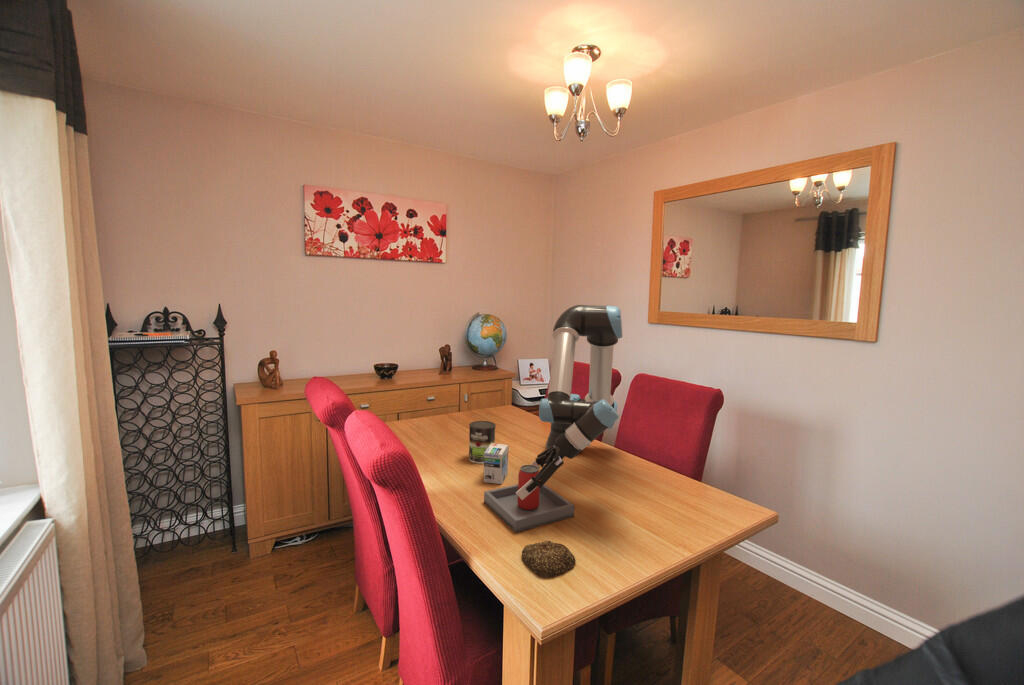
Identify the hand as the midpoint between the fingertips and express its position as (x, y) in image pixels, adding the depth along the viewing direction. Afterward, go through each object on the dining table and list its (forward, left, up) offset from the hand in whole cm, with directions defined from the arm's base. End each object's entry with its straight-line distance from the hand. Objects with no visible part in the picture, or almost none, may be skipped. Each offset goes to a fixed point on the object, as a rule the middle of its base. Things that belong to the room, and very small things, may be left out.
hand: (520, 486), depth 136 cm
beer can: (-2, +1, -6) cm, 7 cm away
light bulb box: (-4, -24, -7) cm, 25 cm away
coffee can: (-7, -42, -7) cm, 43 cm away
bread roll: (+7, +26, -8) cm, 28 cm away
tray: (-2, +1, -7) cm, 8 cm away
